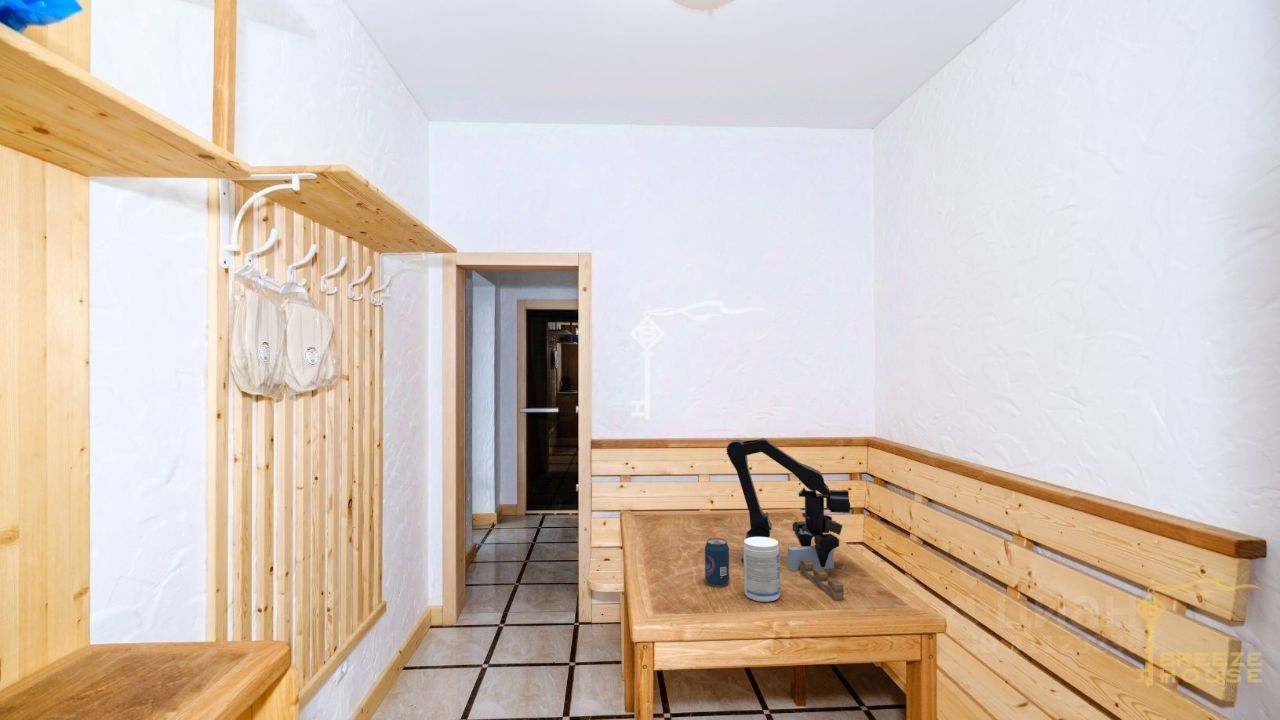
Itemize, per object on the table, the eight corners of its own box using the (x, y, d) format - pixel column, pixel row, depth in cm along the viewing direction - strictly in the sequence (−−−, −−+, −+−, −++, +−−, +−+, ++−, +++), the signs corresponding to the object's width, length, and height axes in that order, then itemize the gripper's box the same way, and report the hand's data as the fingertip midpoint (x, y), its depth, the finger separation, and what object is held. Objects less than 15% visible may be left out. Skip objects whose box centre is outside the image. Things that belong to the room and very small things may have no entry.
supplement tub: (786, 601, 144) (785, 545, 144) (753, 604, 142) (752, 548, 142) (769, 587, 154) (769, 534, 154) (738, 590, 151) (737, 537, 152)
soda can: (700, 580, 159) (700, 539, 159) (721, 576, 161) (720, 536, 162) (713, 589, 152) (712, 546, 153) (734, 585, 155) (733, 542, 155)
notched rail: (843, 599, 145) (843, 584, 145) (836, 600, 144) (835, 585, 144) (807, 572, 164) (806, 559, 164) (800, 573, 164) (800, 559, 164)
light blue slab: (791, 571, 165) (791, 550, 165) (788, 568, 168) (787, 547, 168) (833, 568, 168) (833, 547, 168) (829, 565, 170) (829, 544, 170)
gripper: (855, 517, 161) (856, 570, 160) (822, 502, 179) (823, 550, 179) (820, 519, 159) (821, 573, 158) (791, 504, 177) (792, 552, 177)
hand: (815, 561), depth 168 cm, fingers open, 9 cm apart
